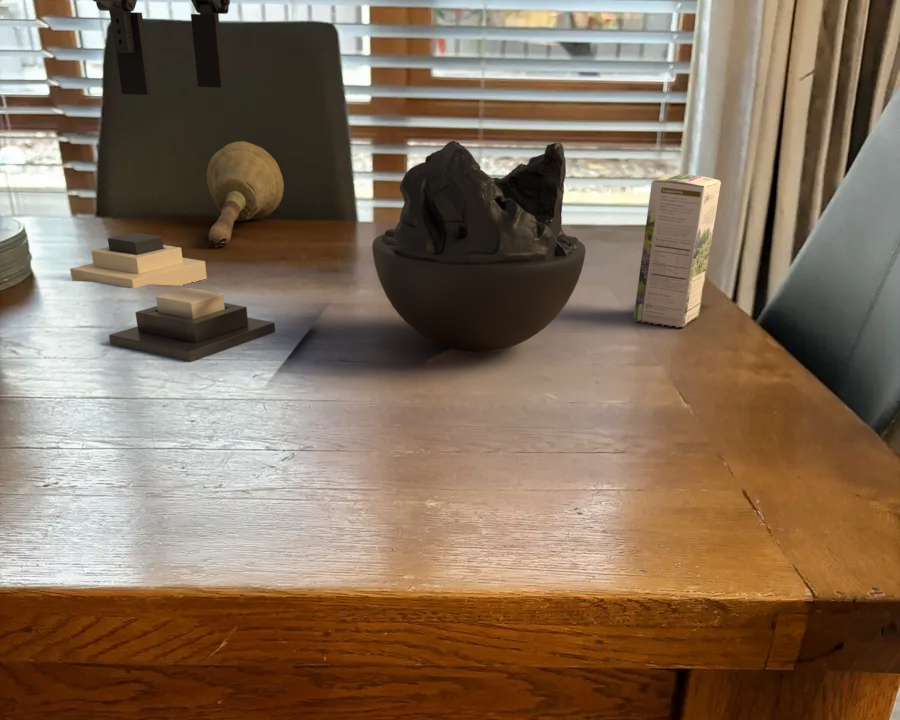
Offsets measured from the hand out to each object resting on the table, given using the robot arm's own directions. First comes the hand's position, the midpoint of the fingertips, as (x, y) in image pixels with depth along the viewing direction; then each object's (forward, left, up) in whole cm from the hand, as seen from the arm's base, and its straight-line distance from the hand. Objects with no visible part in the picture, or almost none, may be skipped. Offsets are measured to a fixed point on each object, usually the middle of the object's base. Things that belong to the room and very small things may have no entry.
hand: (176, 90), depth 96 cm
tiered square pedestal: (+4, -14, -22) cm, 26 cm away
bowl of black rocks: (+31, -9, -22) cm, 39 cm away
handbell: (-7, +45, -22) cm, 50 cm away
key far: (-11, +12, -18) cm, 24 cm away
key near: (+4, -14, -18) cm, 23 cm away
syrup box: (+51, +5, -22) cm, 56 cm away
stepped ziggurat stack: (-11, +12, -22) cm, 27 cm away
